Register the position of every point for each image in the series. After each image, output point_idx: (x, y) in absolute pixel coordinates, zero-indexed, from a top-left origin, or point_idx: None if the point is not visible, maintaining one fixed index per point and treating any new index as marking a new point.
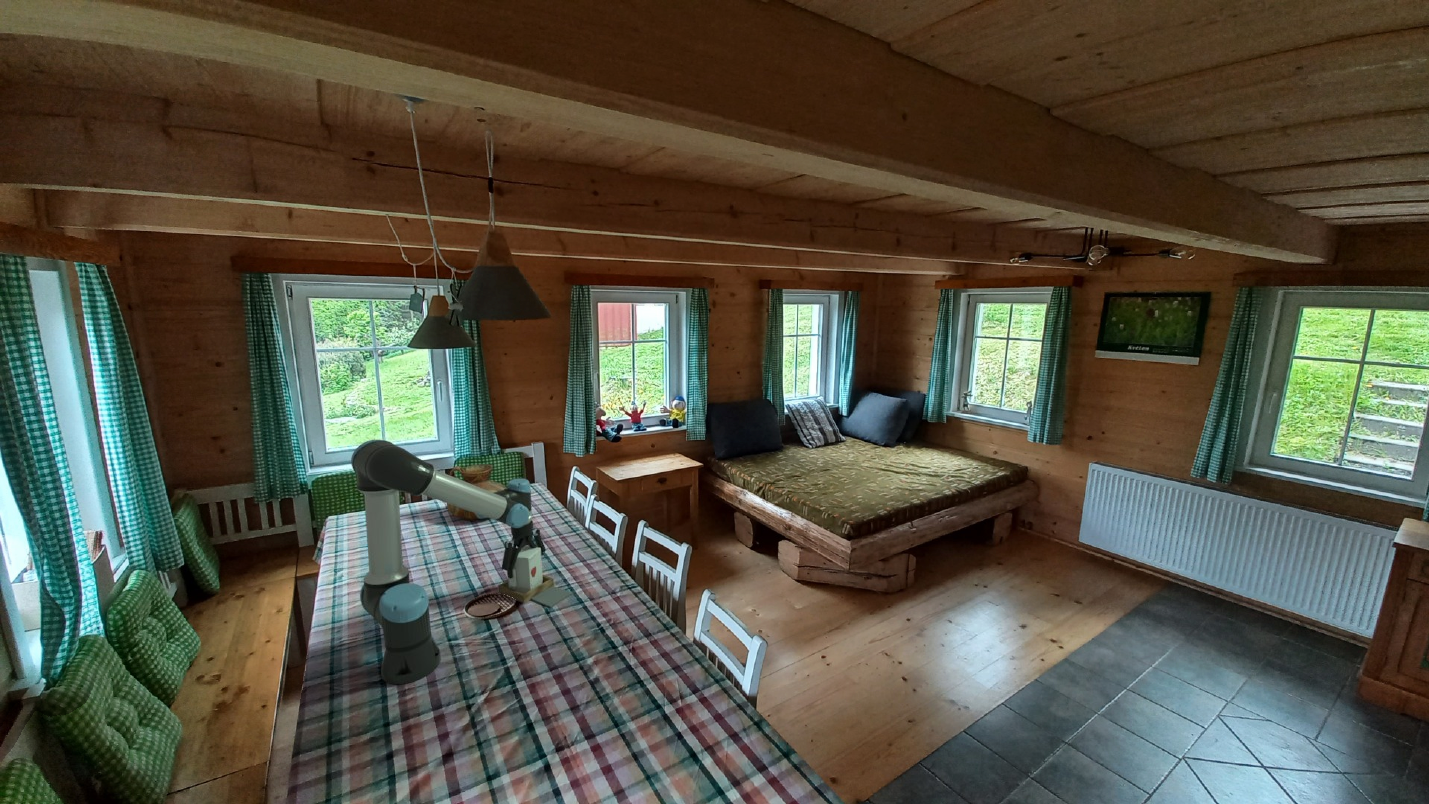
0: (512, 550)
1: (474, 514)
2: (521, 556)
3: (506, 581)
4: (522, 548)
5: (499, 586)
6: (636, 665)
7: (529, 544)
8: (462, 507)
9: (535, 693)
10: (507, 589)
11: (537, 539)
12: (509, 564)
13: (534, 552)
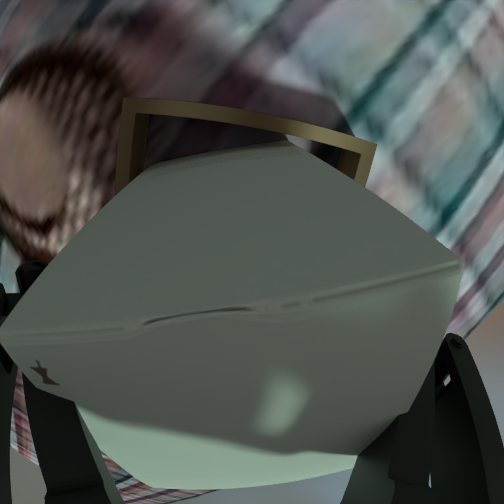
0: (46, 477)
1: None
2: (132, 464)
3: (186, 106)
4: (344, 396)
5: (123, 109)
6: (135, 480)
7: (361, 496)
8: None
9: (18, 421)
10: (116, 188)
11: (444, 491)
12: (13, 378)
13: (273, 483)
